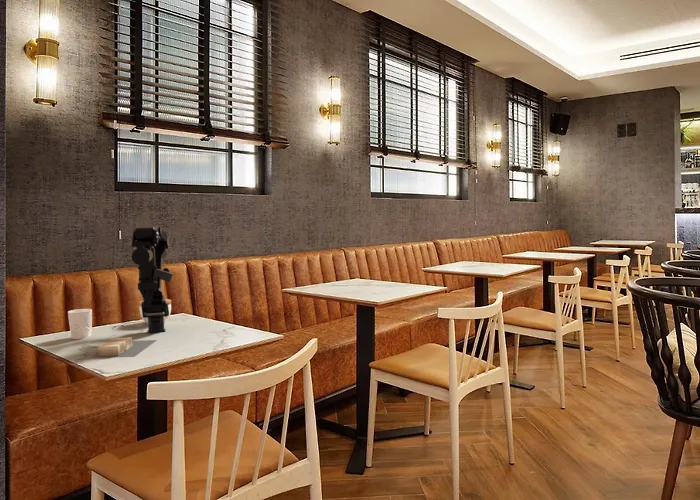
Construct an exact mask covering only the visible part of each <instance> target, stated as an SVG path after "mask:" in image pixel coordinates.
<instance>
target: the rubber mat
mask: <svg viewBox="0 0 700 500" xmlns="http://www.w3.org/2000/svg"><path fill="white" fill-rule="evenodd" d="M156 341H158V340H157V339H152V340H151V339H148V340H147V339H146V340H145V339H144V340H132V347H130V348H129V349H127V350H126V351H124V352H123V353H121V354H120V355H118V356H99V352H95V354H93V355H91V356H90V357H89V359H105V358H107V359H109V358H110V359H111V358H134V357H136V356H138V355H139V354H140V353H142V352H143V351H144V350H146V349H147V348H148V347H150V346H151V345H153V344H155V342H156Z"/></svg>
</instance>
